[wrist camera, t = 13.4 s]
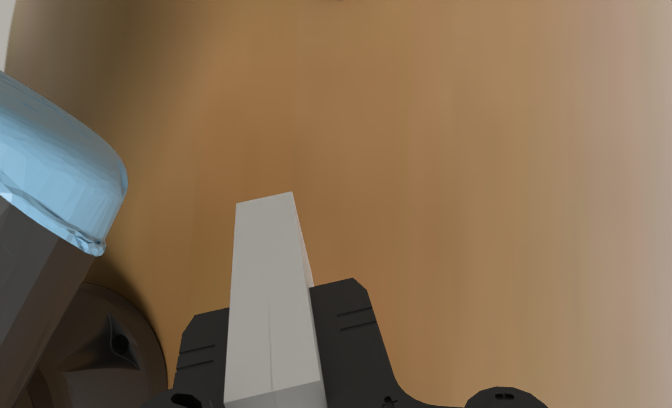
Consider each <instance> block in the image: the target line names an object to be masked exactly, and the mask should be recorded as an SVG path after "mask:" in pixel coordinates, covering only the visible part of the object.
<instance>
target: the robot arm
mask: <svg viewBox="0 0 672 408" xmlns="http://www.w3.org/2000/svg"><path fill="white" fill-rule="evenodd" d="M127 189H128V175H127V170H126V167H125V165H124V163H123V161H122V159H121V158H120V156H119V155H118V154H117V152H116V151H115V150H114V149H113V148H112V147H111V146H110V145H109V144H108V143H107V142H106V141H105V140H104V139H103V138H101V137H100V136H99V135H98V134H96V133H95V132H94V131H93V130H91V129H90V128H89V127H87V126H86V125H85V124H83V123H82V122H80V121H79V120H77V119H76V118H75V117H73V116H72V115H70V114H69V113H67V112H66V111H64V110H63V109H61V108H60V107H58V106H57V105H56V104H54V103H52V102H51V101H49V100H48V99H46V98H45V97H43V96H41V95H40V94H38V93H37V92H35V91H33V90H32V89H30V88H29V87H27V86H26V85H24V84H22V83H21V82H19V81H17V80H16V79H14V78H12V77H11V76H9V75H7V74H5V73H4V72H2V71H0V408H462V407H445V406H435V405H429V404H425V403H423V402H420V401H418V400H415V399H414V398H412V397H411V396H409V395H408V394H406V393H405V392H404V391H403V390H402V389H401V387H400V386H399V385H398V383H397V381H396V379H395V377H394V374H393V371H392V368H391V365H390V362H389V358H388V355H387V352H386V349H385V346H384V343H383V340H382V336H381V333H380V330H379V327H378V324H377V321H376V318H375V314H374V311H373V309H372V305H371V302H370V299H369V296H368V293H367V290H366V289H365V288H364V287H363V286H362V285H360V284H359V283H358V282H357V281H356V280H355V279H354V278H350V279H345V280H341V281H337V282H332V283H328V284H323V285H319V286H315V287H314V285H313V279H312V273H311V269H310V265H309V261H308V256H307V252H306V248H305V244H304V240H303V235H302V231H301V227H300V223H299V219H298V215H297V210H296V206H295V202H294V198H293V194H292V191H291V192H287V193H282V194H278V195H273V196H268V197H264V198H259V199H255V200H250V201H245V202H241V203H236V218H235V233H234V249H233V264H232V280H231V295H230V307H229V308H224V309H220V310H215V311H211V312H207V313H202V314H198V315H195V316H194V317H193V319H192V320H191V322H190V323H189V325H188V326H187V328H186V329H185V331H184V332H183V334H182V339H181V345H180V351H179V354H180V356H178V362H177V367H176V369H177V372H176V373H175V379H174V384H173V388H172V389H170V390H167V376H166V369H165V363H164V359H163V355H162V352H161V349H160V346H159V344H158V341H157V339H156V337H155V335H154V333H153V331H152V329H151V327H150V326H149V324H148V323H147V321H146V320H145V318H144V317H143V316H142V315H141V313H140V312H139V311H138V310H137V309H136V308H135V307H134V306H133V305H132V304H131V303H130V302H128V301H127V300H126V299H125V298H123V297H122V296H120V295H119V294H117V293H115V292H113V291H111V290H109V289H107V288H104V287H102V286H98V285H94V284H89V283H82V281H83V279H84V277H85V276H86V274H87V272H88V270H89V268H90V266H91V264H92V262H93V261H94V259H95V257H96V256H97V257H98V256H101V255H102V254H103V253H104V251H105V249H106V246H107V245H106V242H105V239H106V236H107V234H108V232H109V230H110V228H111V226H112V224H113V222H114V220H115V217H116V215H117V213H118V211H119V209H120V207H121V205H122V203H123V201H124V198H125V196H126V193H127ZM464 408H548V407H547V406H546V405H545V404H544V403H542V402H541V401H540V400H538V399H537V398H536V397H534V396H533V395H532V394H530V393H527V392H525V391H522V390H519V389H516V388H513V387H493V388H489V389H485V390H482V391H479V392H478V393H477V394H475V395H474V396H473V397H471V398H470V399H469V400H468V401H467V403H466V405H465V407H464Z"/></svg>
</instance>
